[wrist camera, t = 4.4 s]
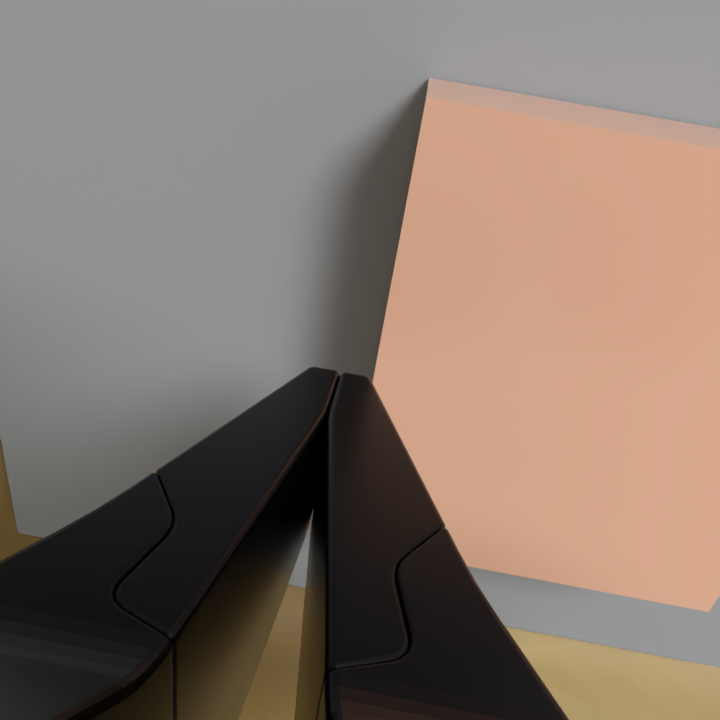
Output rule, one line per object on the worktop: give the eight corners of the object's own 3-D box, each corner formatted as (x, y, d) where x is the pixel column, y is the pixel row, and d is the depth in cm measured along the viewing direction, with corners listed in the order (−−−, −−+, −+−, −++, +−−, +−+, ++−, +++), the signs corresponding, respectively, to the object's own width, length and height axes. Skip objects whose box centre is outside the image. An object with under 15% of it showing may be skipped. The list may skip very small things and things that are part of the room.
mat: (26, 521, 16) (17, 532, 16) (-125, -368, 8) (-150, -385, 8) (722, 654, 16) (728, 669, 16) (1289, -135, 8) (1327, -141, 8)
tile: (342, 542, 12) (708, 611, 12) (426, 97, 8) (984, 195, 8) (354, 471, 14) (675, 531, 14) (429, 76, 10) (886, 157, 10)
